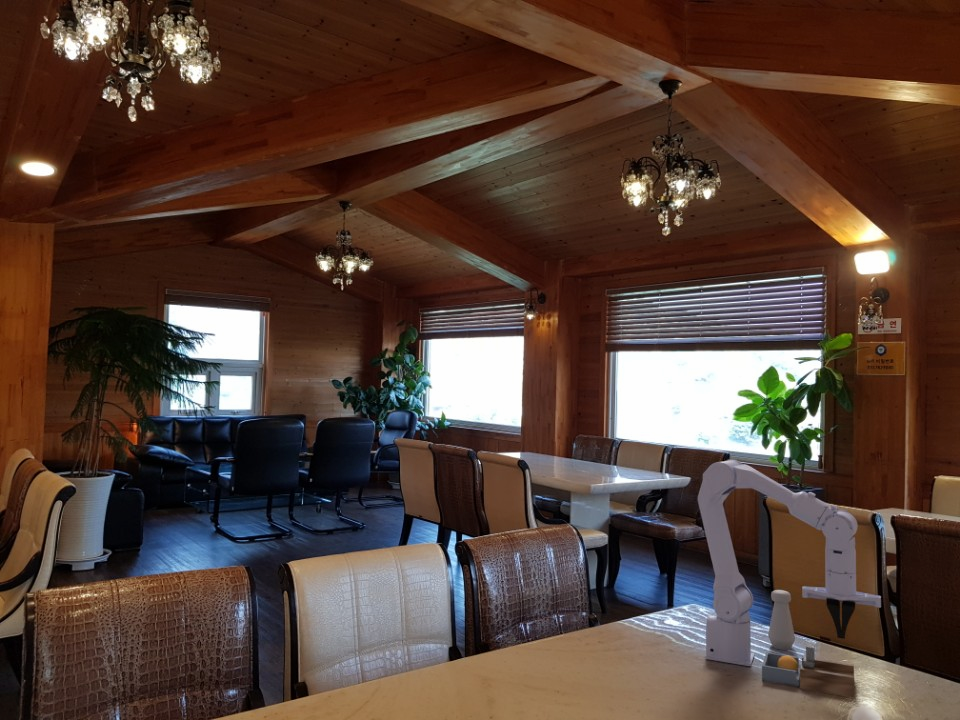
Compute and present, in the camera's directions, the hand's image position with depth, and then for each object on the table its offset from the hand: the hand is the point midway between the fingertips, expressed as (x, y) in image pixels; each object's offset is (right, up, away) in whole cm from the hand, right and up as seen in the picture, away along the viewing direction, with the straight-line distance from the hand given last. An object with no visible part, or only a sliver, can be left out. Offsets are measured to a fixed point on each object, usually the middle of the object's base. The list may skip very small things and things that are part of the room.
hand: (841, 637), depth 148 cm
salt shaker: (-4, -10, +20) cm, 23 cm away
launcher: (-3, -9, -1) cm, 10 cm away
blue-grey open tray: (-11, -9, +3) cm, 15 cm away
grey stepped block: (-6, -7, 0) cm, 9 cm away
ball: (-10, -7, +2) cm, 12 cm away
